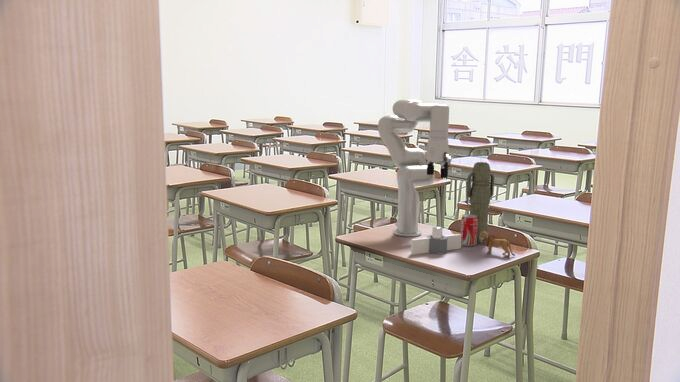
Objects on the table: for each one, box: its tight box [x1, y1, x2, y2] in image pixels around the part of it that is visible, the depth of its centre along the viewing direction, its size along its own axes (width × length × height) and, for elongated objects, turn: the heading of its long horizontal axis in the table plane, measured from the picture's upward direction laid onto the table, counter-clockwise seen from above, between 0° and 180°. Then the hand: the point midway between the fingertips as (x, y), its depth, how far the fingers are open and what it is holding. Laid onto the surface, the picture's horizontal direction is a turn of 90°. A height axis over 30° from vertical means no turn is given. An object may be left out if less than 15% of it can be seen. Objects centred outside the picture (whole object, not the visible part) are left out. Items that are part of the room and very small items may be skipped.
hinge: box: [410, 233, 462, 256], centre depth 234 cm, size 8×24×6 cm, turn 116°
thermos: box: [466, 161, 495, 245], centre depth 249 cm, size 9×12×35 cm
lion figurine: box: [479, 231, 516, 258], centre depth 231 cm, size 15×5×9 cm, turn 64°
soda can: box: [459, 213, 478, 248], centre depth 244 cm, size 7×7×13 cm
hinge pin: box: [431, 225, 443, 239], centre depth 234 cm, size 4×4×10 cm
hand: (437, 176), depth 236 cm, fingers open, 9 cm apart
